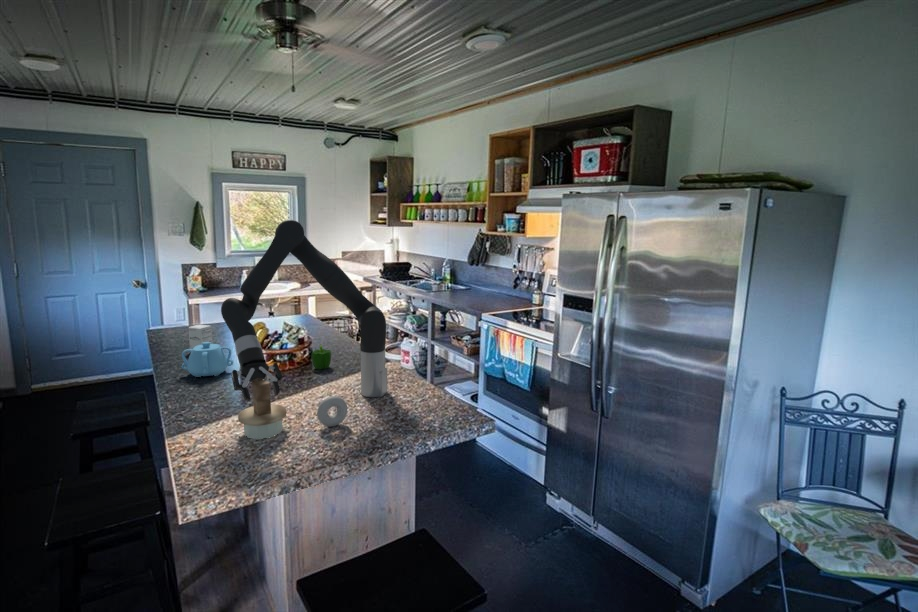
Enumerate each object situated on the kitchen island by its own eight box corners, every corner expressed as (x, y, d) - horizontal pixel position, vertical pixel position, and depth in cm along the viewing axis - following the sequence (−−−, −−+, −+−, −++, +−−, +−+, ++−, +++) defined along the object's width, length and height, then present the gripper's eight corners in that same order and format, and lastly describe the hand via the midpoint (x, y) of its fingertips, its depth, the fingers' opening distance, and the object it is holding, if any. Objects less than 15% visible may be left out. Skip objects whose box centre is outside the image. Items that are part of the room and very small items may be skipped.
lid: (277, 404, 167) (276, 372, 165) (293, 418, 156) (291, 384, 154) (232, 414, 158) (230, 380, 156) (245, 429, 148) (243, 393, 146)
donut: (345, 420, 167) (344, 392, 165) (349, 424, 164) (348, 395, 163) (315, 427, 162) (314, 397, 160) (319, 431, 159) (318, 401, 157)
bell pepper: (328, 371, 218) (328, 348, 216) (309, 370, 218) (308, 348, 216) (333, 365, 226) (333, 343, 224) (315, 364, 226) (314, 343, 224)
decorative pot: (178, 375, 209) (175, 343, 206) (214, 365, 223) (212, 335, 220) (201, 382, 201) (198, 349, 198) (237, 372, 214) (235, 341, 212)
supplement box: (189, 352, 241) (187, 327, 239) (201, 349, 248) (199, 323, 246) (202, 354, 239) (200, 328, 237) (213, 350, 246) (212, 325, 244)
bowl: (289, 426, 162) (288, 411, 161) (270, 440, 152) (269, 425, 151) (258, 422, 164) (257, 408, 163) (237, 437, 154) (236, 421, 153)
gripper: (227, 349, 155) (241, 396, 148) (274, 343, 163) (289, 386, 157) (224, 362, 160) (236, 407, 153) (269, 355, 168) (283, 397, 162)
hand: (263, 397), depth 155 cm, fingers open, 8 cm apart
